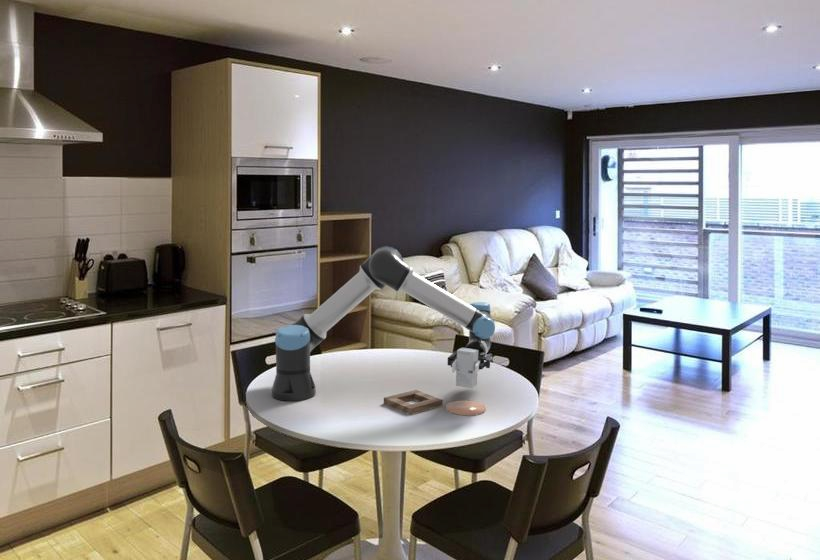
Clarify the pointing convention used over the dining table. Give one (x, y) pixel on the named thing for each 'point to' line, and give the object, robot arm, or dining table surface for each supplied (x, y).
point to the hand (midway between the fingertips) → (464, 369)
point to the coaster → (465, 407)
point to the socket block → (425, 404)
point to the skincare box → (466, 367)
